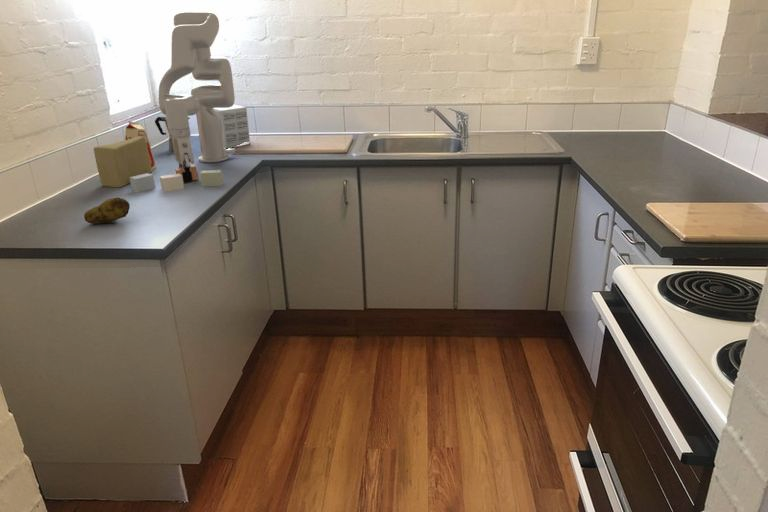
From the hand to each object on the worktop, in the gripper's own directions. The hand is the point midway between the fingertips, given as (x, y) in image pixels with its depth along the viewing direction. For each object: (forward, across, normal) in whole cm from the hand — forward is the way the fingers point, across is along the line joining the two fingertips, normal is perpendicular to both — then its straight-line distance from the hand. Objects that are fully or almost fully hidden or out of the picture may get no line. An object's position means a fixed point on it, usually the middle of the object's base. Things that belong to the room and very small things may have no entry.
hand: (186, 180), depth 217 cm
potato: (+1, -35, +32) cm, 47 cm away
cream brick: (0, -8, +7) cm, 11 cm away
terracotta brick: (0, 0, -1) cm, 1 cm away
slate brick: (0, -2, +16) cm, 16 cm away
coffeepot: (0, +57, -10) cm, 58 cm away
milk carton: (0, +29, +11) cm, 31 cm away
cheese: (+1, +15, +17) cm, 23 cm away
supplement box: (+1, +56, -35) cm, 66 cm away
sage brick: (0, -10, -7) cm, 12 cm away
